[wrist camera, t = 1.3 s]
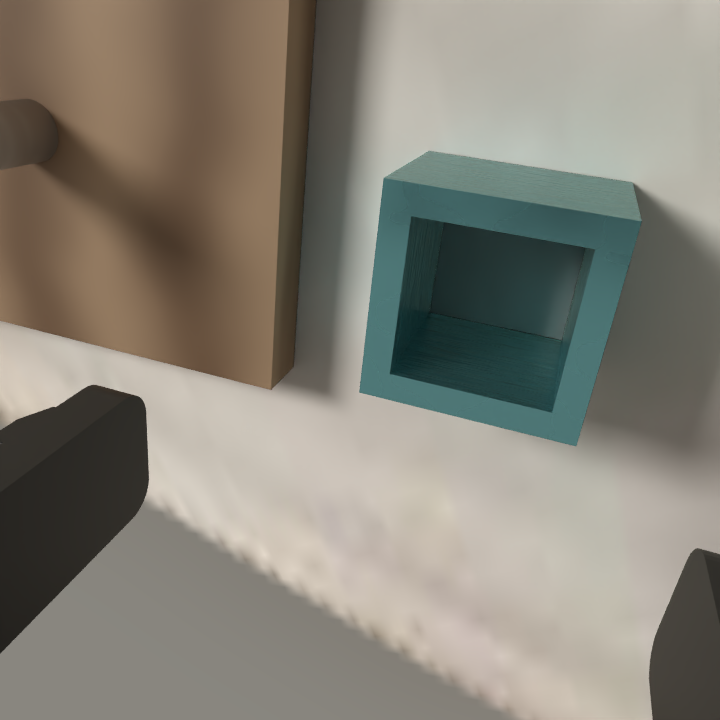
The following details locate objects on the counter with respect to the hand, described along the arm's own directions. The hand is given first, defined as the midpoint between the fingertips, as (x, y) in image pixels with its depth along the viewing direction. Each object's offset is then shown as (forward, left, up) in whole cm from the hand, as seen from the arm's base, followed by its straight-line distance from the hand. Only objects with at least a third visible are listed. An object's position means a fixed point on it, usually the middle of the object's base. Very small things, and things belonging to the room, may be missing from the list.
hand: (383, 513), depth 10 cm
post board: (+16, -2, -13) cm, 21 cm away
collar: (0, 0, -13) cm, 13 cm away
